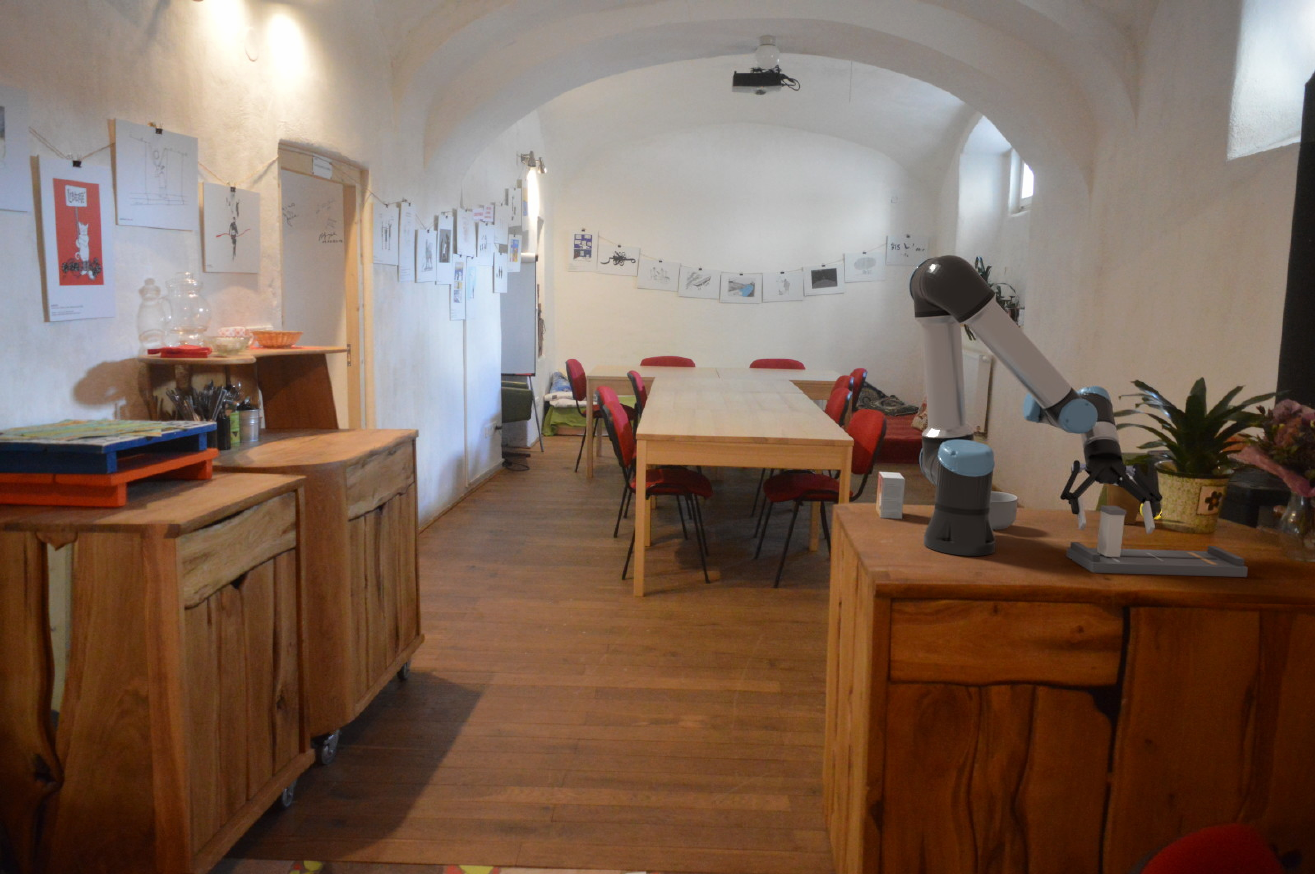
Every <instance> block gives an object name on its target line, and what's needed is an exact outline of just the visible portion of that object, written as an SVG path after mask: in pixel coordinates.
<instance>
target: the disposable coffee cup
mask: <svg viewBox="0 0 1315 874" xmlns="http://www.w3.org/2000/svg"><path fill="white" fill-rule="evenodd" d="M1125 473H1126V474H1127V475H1129V473H1128V472H1125ZM1129 477H1130V479H1131V480H1132V481H1134V479H1133V478H1132V476H1129ZM1120 480H1122V477H1121V478H1120ZM1134 482H1135V481H1134ZM1135 483H1136V482H1135ZM1136 484H1137V483H1136ZM1137 485H1138V484H1137ZM1106 499H1107V500H1106V503H1107V505H1106V506H1117V507H1120V508H1122V509H1124V510H1126V511H1127V512H1126V515H1125V517H1124V525H1135V524H1136V522H1137V517H1138V513H1139V510H1140V506H1141V502H1140V501H1139V500H1137V499H1136V498H1135V497H1134V496H1133V495H1131V494H1130V493H1129V492H1128V491H1127V490H1125V489H1124V488H1123V487H1119V486H1118V485H1117V484H1116V483H1114V484H1108V483H1106Z"/></svg>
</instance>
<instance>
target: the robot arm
mask: <svg viewBox="0 0 1315 874" xmlns="http://www.w3.org/2000/svg"><path fill="white" fill-rule="evenodd" d="M908 290H909V295H910V297H911V299H912V301H913V308H914V309H913V310H914V311H913V312H914V320H916V321H917V322H918V323H919V324H920V325H921V326H922V327H921V328H922V346H923V348H922V349H923V360H924V361H923V362H924V363H923V364H924V379H925V380H924V383H925V394H926V413H927V414H926V415H927V427H926V428H925V430H923V431H922V433H921V442H922V443H921V444H922V448H921V450H920V453H919V466H920V469H921V470H920V471H921V472H922V474H923V475H924V477H925V478H926V479H927V480H928V481H929V482H930V483H931V484H933V485H934V486H935V498H934V510H933V513H932V515H931V518H930V521H929V522H928V525H927V527H926V529H925V532H924V537H923V544H924V546H925V547H927V548H928V549H931V550H934V551H936V552H940V553H945V554H949V555H955V556H966V557H967V556H969V557H979V556H981V557H982V556H987V555H991V554H994V553H995V551H996V550H995V549H996V539H995V535H994V530H993V529H992V526H991V522H990V518H989V510H990V500H991V491H992V487H993V485H992V484H993V478H994V477H993V476H994V468H995V453H994V451H993V448H991V447H990V446H989V445H987V444H985V443H982V442H977V441H975V437H974V430H973V429H972V428H970V426H968V425H967V416H966V415H967V414H966V412H967V411H966V397H965V396H966V395H965V379H964V376H965V375H964V358H963V357H964V355H963V341H962V325H966V326H967V327H969V329H971V330H972V332H973V333H974V334H975V335H976V336H977V337H978V338H979V341H982V343H983V344H984V345H985V346H986V347H987V349H989V351H990V352H991V353H992V354H993V356H995V357H996V358H997V360H998V361H999V362H1000V363H1001V364H1002V365H1003V366H1004V367H1005V369H1007V371H1008V372H1009V373H1010V374H1011V375H1012V376H1013V377H1014V378H1015V379H1016V381H1017V382H1018V383H1019V384H1020V385H1021V386H1022V387H1023V388H1024V389H1025V391H1026V392H1027V393H1026V395H1025V397H1024V400H1023V404H1022V416H1023V418H1024V420H1026V421H1027V422H1032V423H1035V424H1044V425H1045V424H1046V425H1049V426H1052V427H1053V428H1054V427H1055V428H1058V429H1060V430H1062V431H1064V432H1065V433H1069V434H1077V435H1080V438H1081V445H1082V449H1083V450H1082V451H1083V457H1084V462H1085V463H1082V462H1080V460H1077V459H1075V460H1073V463H1072V465H1071V467H1070V469H1071V470H1070V476H1069V478H1068V480H1067V481H1066V484H1065V486H1064V489H1063V490H1062V493H1061V494H1060V500H1062V501H1068V502H1067V503H1068V505H1070V509H1071V513H1072V515H1076V518H1077V524H1078V530H1080V531H1083V530H1084V528H1085V527H1086V526H1087V520H1086V519H1087V518H1086V513H1085V508H1084V507H1085V506H1084V501H1083V500H1084V499H1083V497H1082V495H1083V494H1084V493H1085V492H1086V491H1087V489H1089V488H1090V486H1092V485H1093V484H1095V482H1097V483H1098V485H1099V484H1101V485H1102V484H1107V483H1108V484H1114V483H1116V484H1117V485H1118V486H1119V487H1123V488H1124V489H1125V490H1127V491H1128V492H1129V493H1130V494H1131V495H1133V496H1134V497H1135V498H1136V499H1137V500H1139V501H1140V504H1143V506H1142V507H1141V508H1142V513H1143V516H1142V518H1143V522H1144V526H1145V531H1146V534H1147V535H1151V534H1152V533H1153V531H1154V530H1155V528H1156V526H1155V520H1153V519H1154V518H1155V517H1157V511H1156V506H1159V504H1160V501H1162V500H1163V495H1162V494H1161V493H1160V491H1159V490H1158V489H1157V488H1156V487H1155V486H1154V485H1153V483H1152V482H1151V481H1150V480H1149V479H1148V477H1147V476H1146V475H1145V473H1143V470H1142V468H1141V466H1140V464H1139V463H1137V462H1135V463H1133V465H1126V464H1125V463H1124V461H1123V455H1122V449H1121V445H1120V439H1119V435H1118V431H1117V430H1118V429H1117V427H1116V420H1115V416H1114V410H1113V408H1114V405H1113V403H1112V400H1111V397H1110V395H1109V392H1108V391H1107V389H1105V388H1104V387H1102V386H1099V385H1091V386H1085V387H1082V388H1080V389H1079V390H1077V391H1076V390H1075V389H1074V388H1073V387H1072V385H1070V383H1069V382H1068V381H1067V380H1066V379H1065V378H1064V376H1063V375H1062V374H1061V373H1060V372H1059V371H1058V370H1057V369H1056V367H1055V366H1054V365H1053V364H1052V363H1051V361H1049V359H1048V358H1047V357H1046V356H1045V355H1044V354H1043V353H1042V351H1041V350H1039V348H1038V347H1037V346H1036V345H1035V344H1034V343H1033V341H1032V340H1031V339H1030V338H1029V337H1028V336H1027V335H1026V334H1025V333H1024V331H1023V330H1022V329H1021V328H1020V327H1019V325H1017V323H1016V322H1015V321H1014V320H1013V319H1012V317H1011V316H1010V315H1008V313H1007V312H1006V311H1005V310H1004V309H1003V308H1002V306H1000V304H999V303H998V302H997V299H996V298H997V294H996V292H995V291H994V290H993V288H992V287H991V286H990V285H989V284H988V282H987V281H986V280H985V279H984V278H983V277H982V276H981V274H980V273H979V272H978V271H977V269H976V268H975V267H974V266H973V265H972V264H971V263H970V262H969V261H967V260H966V259H965V258H962V257H960V256H958V255H951V254H945V255H941V256H935V257H930V258H927V259H925V260H924V261H922V262H920V263H919V264H918V265H917V266H916V267H915V269H914V270H913V271H912V273H911V275H910V277H909V281H908ZM1083 471H1085V472H1086V474H1088V476H1087V477H1086V478H1085V480H1084V481H1083V482H1082V483H1081V484H1080V485H1078V487H1077V488H1076V489H1075V490H1074V491H1073V492H1071V489H1072V487H1073V485H1074V483H1075V481H1076V479H1077V476H1078V475H1079V474H1080V473H1082V472H1083ZM1126 473H1128V474H1129V475H1127V474H1126ZM1129 476H1132V478H1133V479H1134V481H1135V482H1136V483H1137V484H1138V485H1137V484H1136V483H1135V482H1134V481H1132V480H1131V479H1130V477H1129ZM1121 477H1122V480H1120V478H1121Z"/></svg>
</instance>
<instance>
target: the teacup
mask: <svg viewBox="0 0 1315 874" xmlns="http://www.w3.org/2000/svg"><path fill="white" fill-rule="evenodd" d="M1018 501H1019V497H1018V496H1017V495H1015V494H1012V493H1009V492H1001V491H995V490H994V491H993V490H991V500H990V510H989V518H990V522H991V526H992V530H993V531H994V530H1005V529H1007V528H1009V526H1011V525H1013V524H1014V523H1015V521H1016V519H1017V518H1016V517H1017V511H1018Z"/></svg>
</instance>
